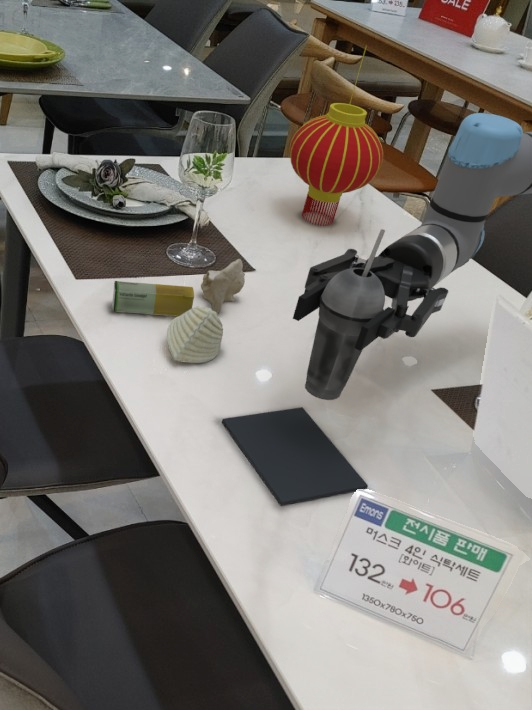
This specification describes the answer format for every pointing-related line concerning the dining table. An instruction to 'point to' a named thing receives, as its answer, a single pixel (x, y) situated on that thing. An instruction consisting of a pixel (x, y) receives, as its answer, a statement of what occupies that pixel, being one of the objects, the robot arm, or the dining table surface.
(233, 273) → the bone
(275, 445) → the mat
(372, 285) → the beverage cup
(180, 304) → the medication box
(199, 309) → the seashell
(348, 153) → the lantern
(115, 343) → the dining table surface
